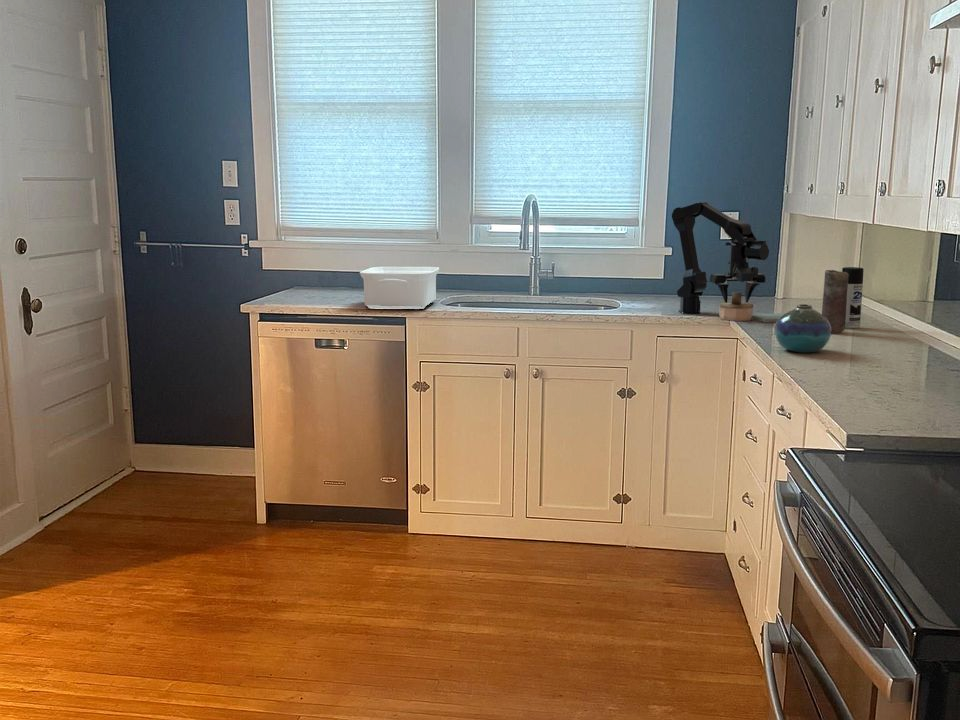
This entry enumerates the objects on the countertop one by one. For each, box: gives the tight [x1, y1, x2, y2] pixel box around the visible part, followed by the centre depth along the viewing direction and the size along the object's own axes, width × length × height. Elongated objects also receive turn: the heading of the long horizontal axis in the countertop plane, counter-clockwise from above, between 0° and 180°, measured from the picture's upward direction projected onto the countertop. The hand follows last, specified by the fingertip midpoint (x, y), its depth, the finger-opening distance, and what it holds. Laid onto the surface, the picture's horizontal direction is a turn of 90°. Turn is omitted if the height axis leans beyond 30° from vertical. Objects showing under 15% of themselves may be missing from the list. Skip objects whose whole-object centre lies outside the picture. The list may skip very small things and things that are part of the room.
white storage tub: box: [359, 265, 440, 307], centre depth 355 cm, size 34×29×15 cm
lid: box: [718, 291, 754, 309], centre depth 316 cm, size 12×12×5 cm
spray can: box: [841, 266, 865, 330], centre depth 294 cm, size 7×7×20 cm
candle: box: [821, 269, 849, 334], centre depth 285 cm, size 8×7×20 cm
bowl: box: [718, 306, 754, 322], centre depth 317 cm, size 11×11×4 cm
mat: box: [751, 313, 785, 323], centre depth 316 cm, size 13×13×1 cm
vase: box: [774, 303, 832, 354], centre depth 255 cm, size 15×15×13 cm
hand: (736, 302), depth 316 cm, fingers open, 7 cm apart
